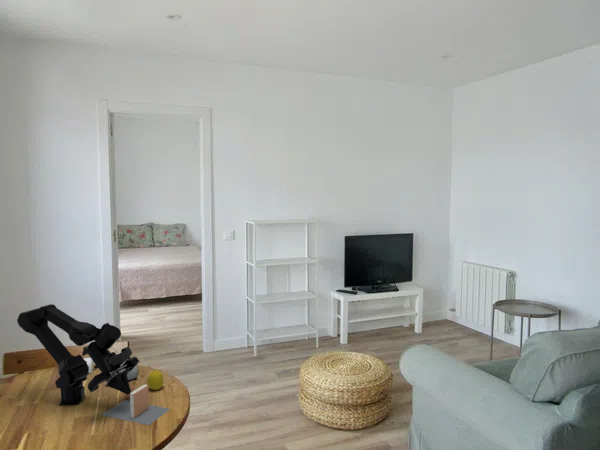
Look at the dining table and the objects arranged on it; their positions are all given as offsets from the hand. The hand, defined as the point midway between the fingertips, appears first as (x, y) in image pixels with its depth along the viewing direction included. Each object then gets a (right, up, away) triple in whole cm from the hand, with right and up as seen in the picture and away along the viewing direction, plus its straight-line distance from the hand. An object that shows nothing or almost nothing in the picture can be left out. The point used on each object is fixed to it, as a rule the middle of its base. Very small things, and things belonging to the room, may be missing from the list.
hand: (129, 393), depth 147 cm
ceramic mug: (-13, -5, +27) cm, 30 cm away
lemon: (+3, -6, +17) cm, 18 cm away
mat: (+2, -7, 0) cm, 7 cm away
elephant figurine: (-30, -5, +35) cm, 46 cm away
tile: (+4, -6, -1) cm, 7 cm away
